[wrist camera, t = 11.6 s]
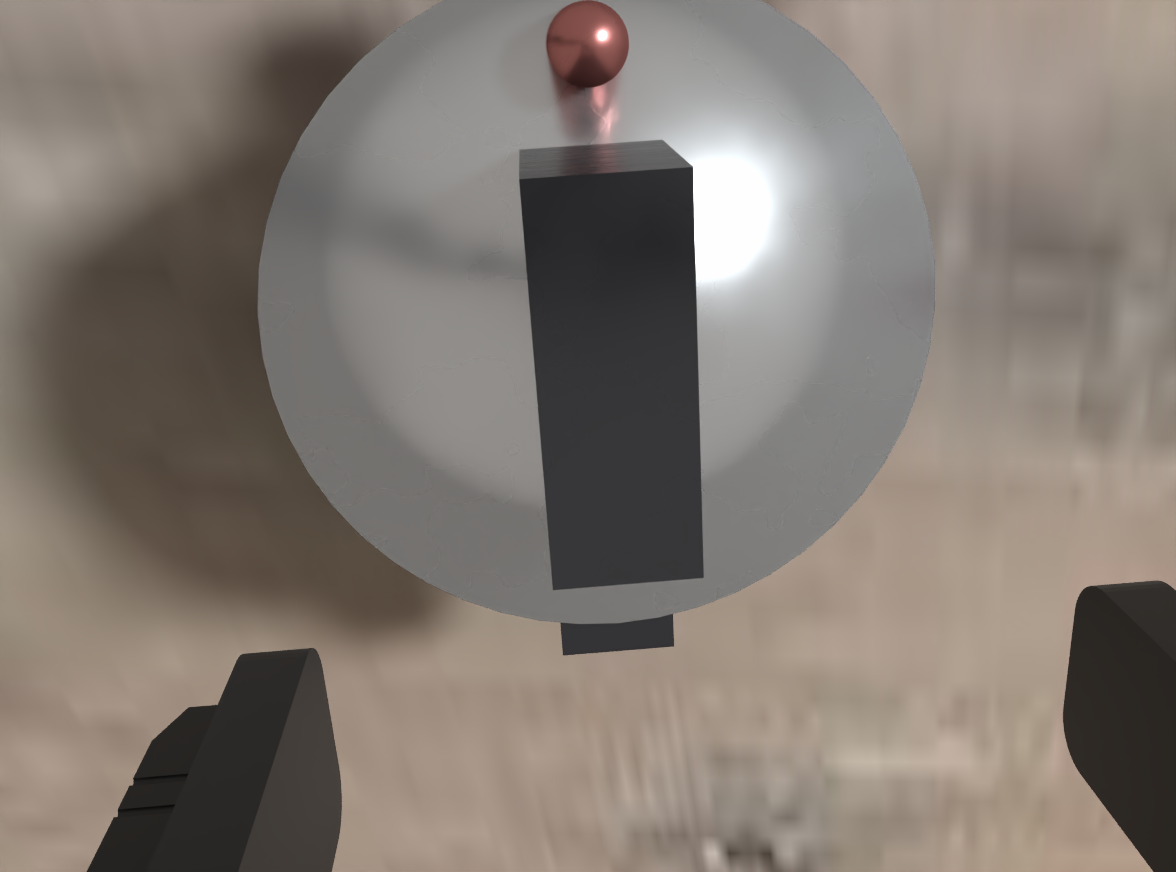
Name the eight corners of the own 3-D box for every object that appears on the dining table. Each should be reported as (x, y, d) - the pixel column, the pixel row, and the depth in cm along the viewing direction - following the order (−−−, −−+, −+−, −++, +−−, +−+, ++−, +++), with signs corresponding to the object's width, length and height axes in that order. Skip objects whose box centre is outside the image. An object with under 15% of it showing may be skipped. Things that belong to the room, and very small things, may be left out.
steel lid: (321, 622, 28) (276, 762, 23) (213, -12, 23) (121, -19, 17) (903, 575, 28) (989, 701, 23) (934, -58, 23) (1055, -79, 18)
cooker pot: (388, 535, 37) (350, 688, 29) (303, -85, 30) (219, -123, 22) (805, 503, 38) (887, 644, 29) (814, -115, 31) (924, -164, 22)
